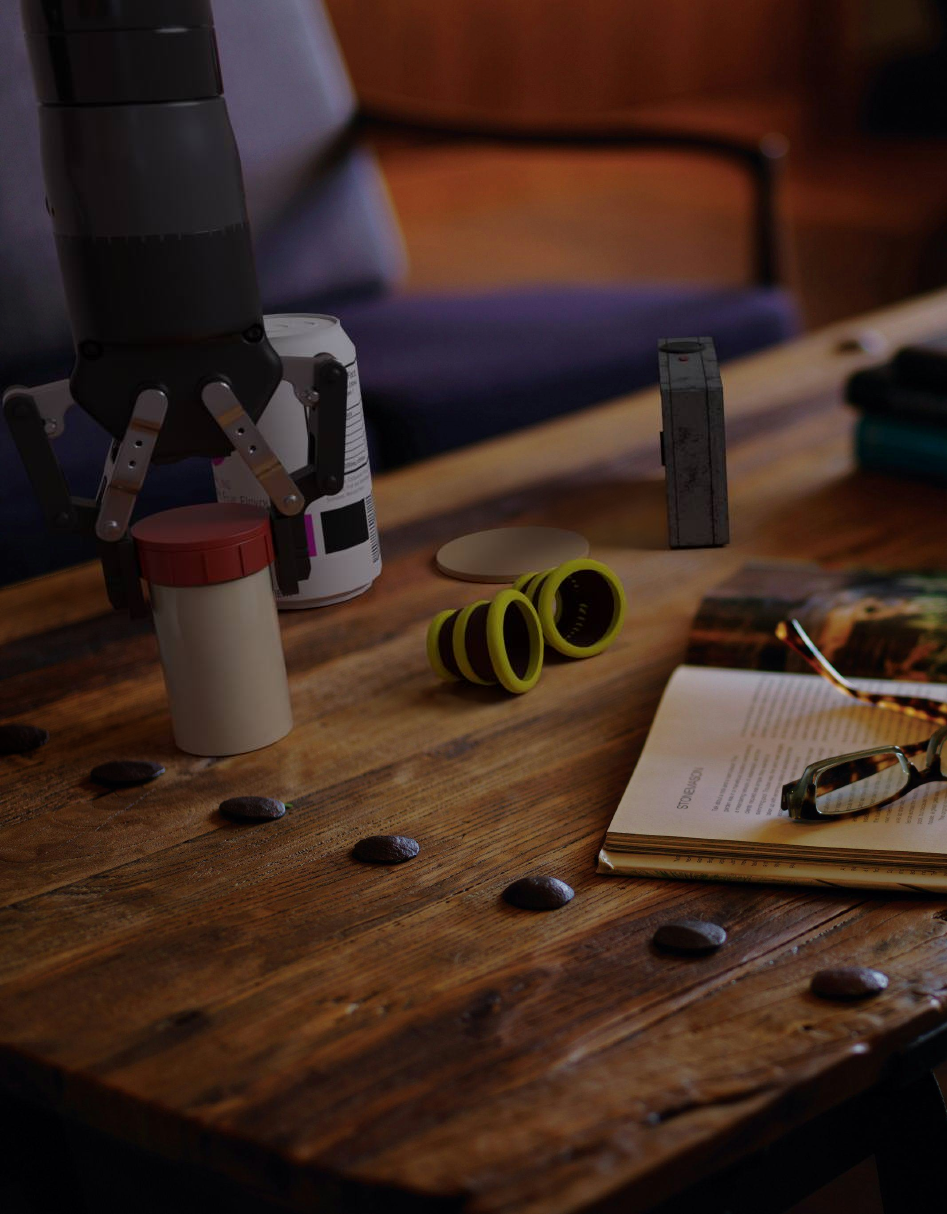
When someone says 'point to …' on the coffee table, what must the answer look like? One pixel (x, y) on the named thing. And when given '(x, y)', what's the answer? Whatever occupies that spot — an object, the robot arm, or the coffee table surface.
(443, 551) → the coaster
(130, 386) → the robot arm
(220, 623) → the jar
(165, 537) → the jar lid
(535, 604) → the opera glasses
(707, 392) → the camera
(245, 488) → the supplement can
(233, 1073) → the coffee table surface
